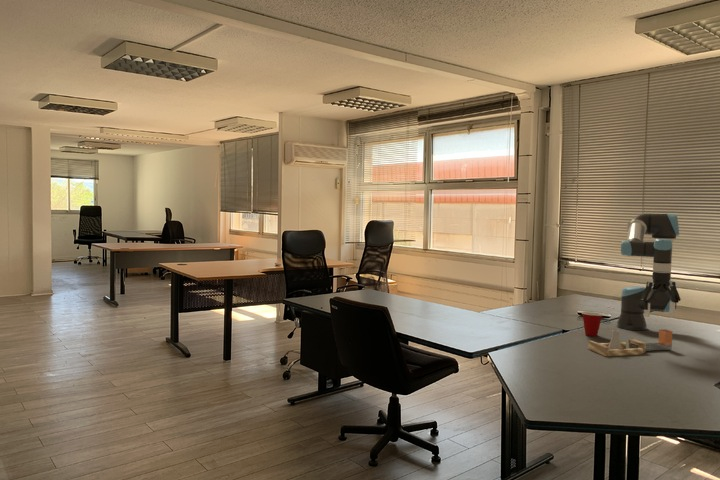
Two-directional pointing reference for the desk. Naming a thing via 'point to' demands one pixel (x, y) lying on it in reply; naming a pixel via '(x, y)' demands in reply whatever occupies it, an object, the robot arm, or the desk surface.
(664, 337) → the grey orange angled block
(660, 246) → the robot arm
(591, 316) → the plastic cup
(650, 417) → the desk surface
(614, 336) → the flask
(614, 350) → the wooden tray
